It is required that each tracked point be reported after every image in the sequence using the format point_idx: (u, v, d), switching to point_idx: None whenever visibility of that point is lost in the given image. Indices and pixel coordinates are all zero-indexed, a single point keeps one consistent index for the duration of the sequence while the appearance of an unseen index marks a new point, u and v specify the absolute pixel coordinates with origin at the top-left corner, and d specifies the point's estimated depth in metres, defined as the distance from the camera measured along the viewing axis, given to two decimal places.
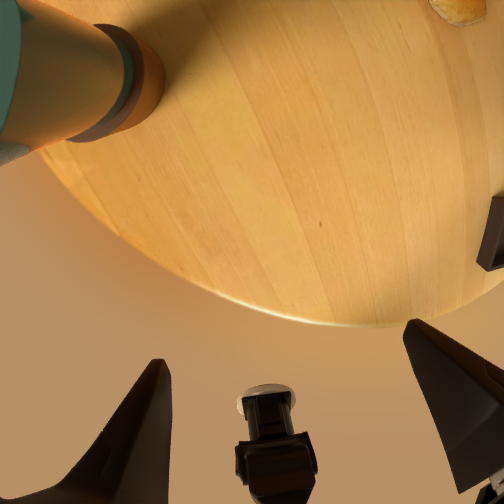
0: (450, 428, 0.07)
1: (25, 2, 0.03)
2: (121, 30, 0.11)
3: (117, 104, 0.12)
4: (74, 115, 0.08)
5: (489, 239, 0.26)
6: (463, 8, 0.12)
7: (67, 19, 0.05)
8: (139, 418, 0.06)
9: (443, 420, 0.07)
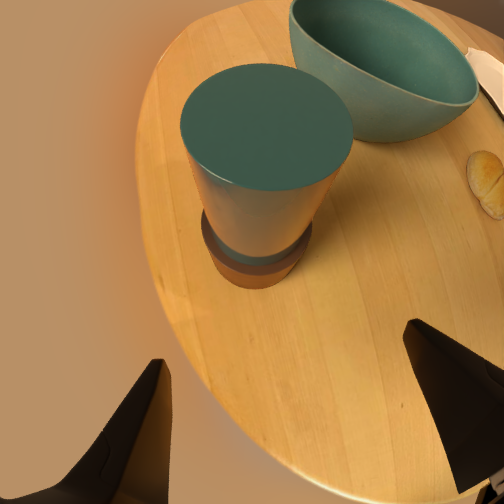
0: (450, 428, 0.07)
1: None
2: None
3: (293, 247, 0.17)
4: (304, 224, 0.13)
5: None
6: None
7: None
8: (139, 418, 0.06)
9: (444, 420, 0.07)
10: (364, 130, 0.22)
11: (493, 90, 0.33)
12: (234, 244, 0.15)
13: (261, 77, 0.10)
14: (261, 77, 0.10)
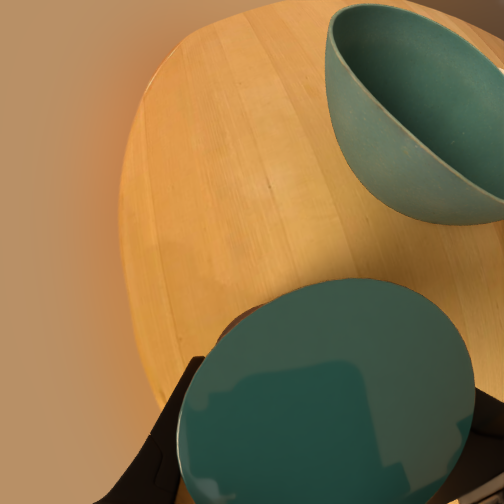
0: None
1: None
2: None
3: None
4: None
5: None
6: None
7: None
8: None
9: None
10: (416, 216, 0.17)
11: None
12: None
13: (346, 335, 0.04)
14: (345, 337, 0.04)
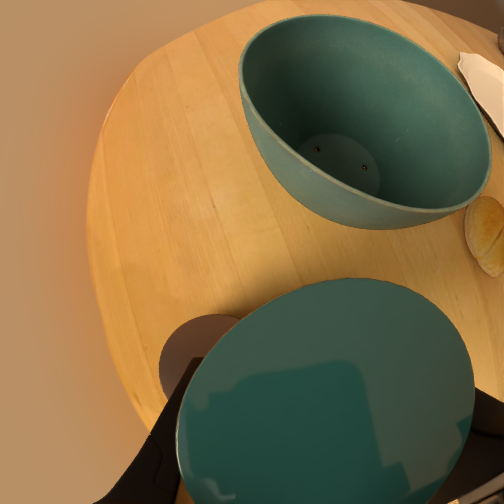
0: None
1: None
2: None
3: None
4: None
5: None
6: None
7: None
8: None
9: None
10: (344, 224, 0.19)
11: (489, 103, 0.32)
12: None
13: (345, 335, 0.04)
14: (344, 337, 0.04)
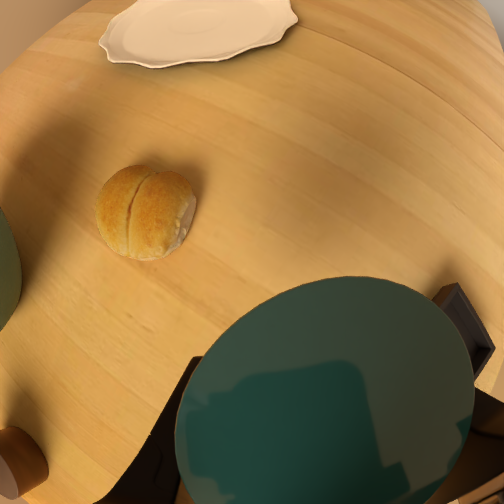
0: None
1: None
2: None
3: None
4: None
5: None
6: (148, 235, 0.21)
7: None
8: None
9: None
10: None
11: (152, 39, 0.31)
12: None
13: (343, 334, 0.04)
14: (344, 335, 0.04)
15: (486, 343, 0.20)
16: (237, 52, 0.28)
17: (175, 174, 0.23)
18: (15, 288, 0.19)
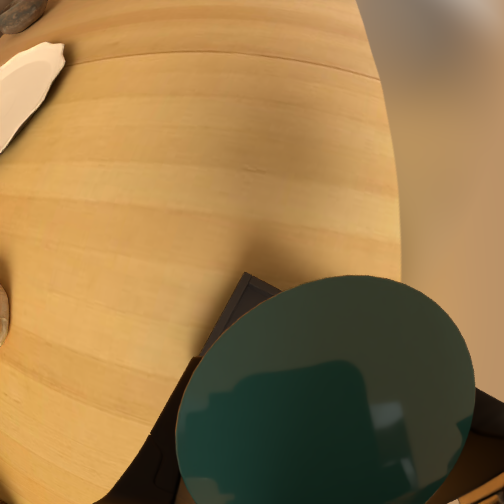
0: None
1: None
2: None
3: None
4: None
5: None
6: None
7: None
8: None
9: None
10: None
11: None
12: None
13: (345, 333, 0.04)
14: (345, 334, 0.04)
15: None
16: (12, 135, 0.24)
17: None
18: None
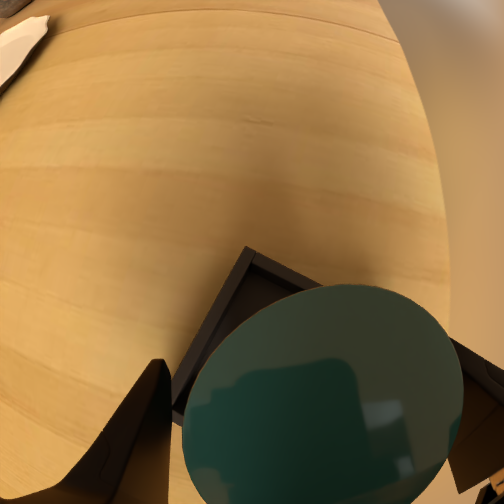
0: None
1: None
2: None
3: None
4: None
5: None
6: None
7: None
8: (139, 418, 0.06)
9: None
10: None
11: None
12: None
13: (338, 337, 0.05)
14: (338, 338, 0.05)
15: None
16: None
17: None
18: None
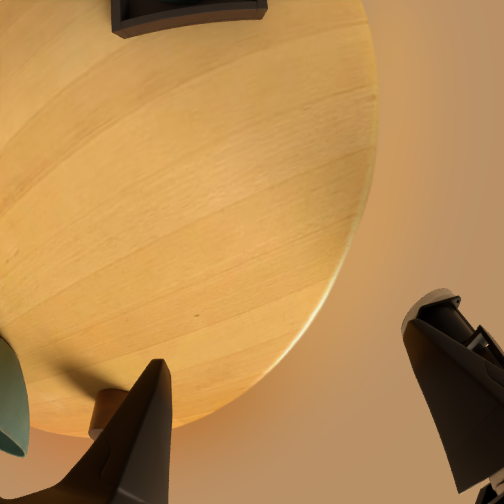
0: (450, 428, 0.07)
1: None
2: (89, 431, 0.25)
3: None
4: None
5: (199, 19, 0.13)
6: None
7: None
8: (139, 418, 0.06)
9: (443, 420, 0.07)
10: (23, 394, 0.22)
11: None
12: None
13: None
14: None
15: None
16: None
17: None
18: None
